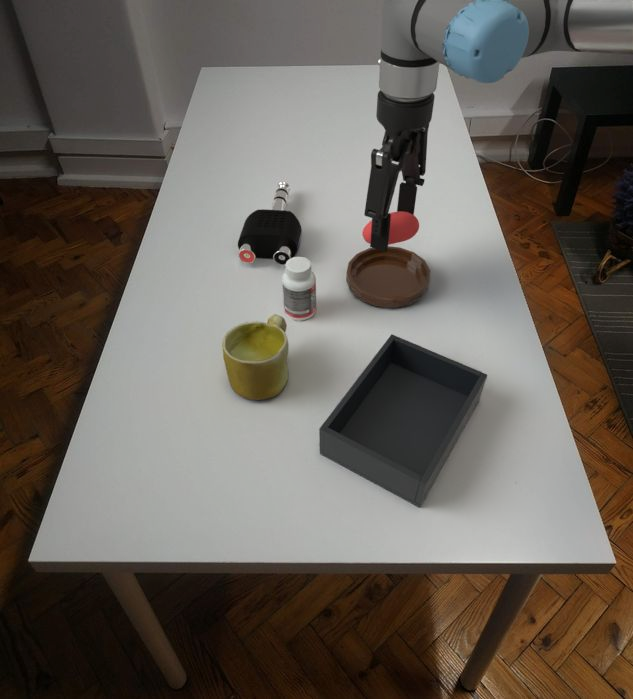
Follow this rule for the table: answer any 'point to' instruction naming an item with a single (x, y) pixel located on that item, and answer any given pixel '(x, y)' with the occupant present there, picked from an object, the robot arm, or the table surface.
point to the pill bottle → (299, 289)
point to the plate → (388, 277)
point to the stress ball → (397, 227)
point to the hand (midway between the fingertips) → (392, 233)
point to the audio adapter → (271, 231)
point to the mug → (257, 358)
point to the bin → (402, 418)
